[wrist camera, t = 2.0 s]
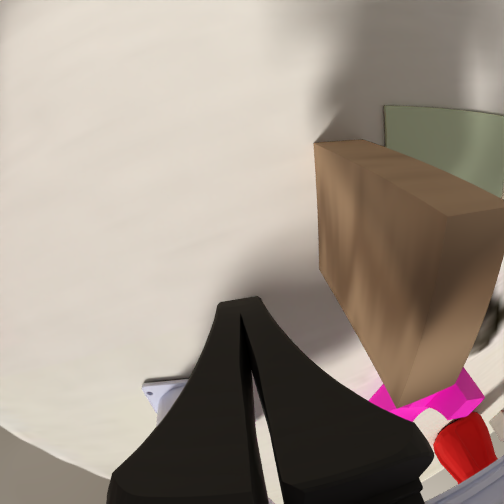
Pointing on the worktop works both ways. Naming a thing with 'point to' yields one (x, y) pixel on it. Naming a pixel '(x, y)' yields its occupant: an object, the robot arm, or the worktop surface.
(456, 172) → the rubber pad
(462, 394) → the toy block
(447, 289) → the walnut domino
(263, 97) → the worktop surface
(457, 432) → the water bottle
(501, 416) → the white paper bag
